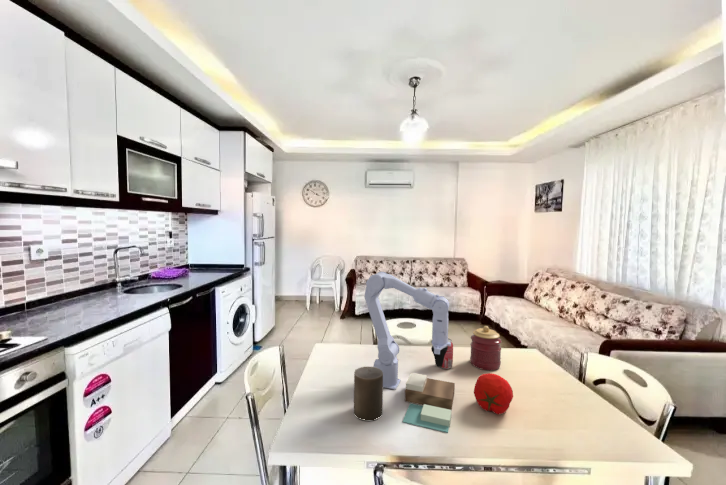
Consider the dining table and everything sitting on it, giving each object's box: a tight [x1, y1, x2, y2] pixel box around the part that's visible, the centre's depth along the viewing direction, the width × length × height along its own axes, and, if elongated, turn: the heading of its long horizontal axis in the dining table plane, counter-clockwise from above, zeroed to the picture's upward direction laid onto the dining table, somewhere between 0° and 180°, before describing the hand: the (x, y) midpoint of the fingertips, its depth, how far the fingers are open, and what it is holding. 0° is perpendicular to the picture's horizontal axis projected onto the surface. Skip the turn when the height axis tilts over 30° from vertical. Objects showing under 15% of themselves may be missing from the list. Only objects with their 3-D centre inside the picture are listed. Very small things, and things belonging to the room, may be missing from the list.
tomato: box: [473, 372, 514, 415], centre depth 107 cm, size 13×13×13 cm
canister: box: [469, 325, 503, 371], centre depth 141 cm, size 13×13×18 cm
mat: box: [402, 402, 450, 434], centre depth 102 cm, size 14×11×1 cm
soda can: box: [439, 337, 454, 370], centre depth 139 cm, size 7×7×12 cm
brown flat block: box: [404, 377, 456, 410], centre depth 114 cm, size 16×12×4 cm
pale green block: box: [421, 404, 453, 428], centre depth 101 cm, size 9×6×2 cm, turn 69°
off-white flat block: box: [405, 372, 428, 392], centre depth 115 cm, size 9×6×2 cm, turn 159°
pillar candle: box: [353, 366, 384, 421], centre depth 104 cm, size 10×10×15 cm
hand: (439, 366), depth 116 cm, fingers closed
